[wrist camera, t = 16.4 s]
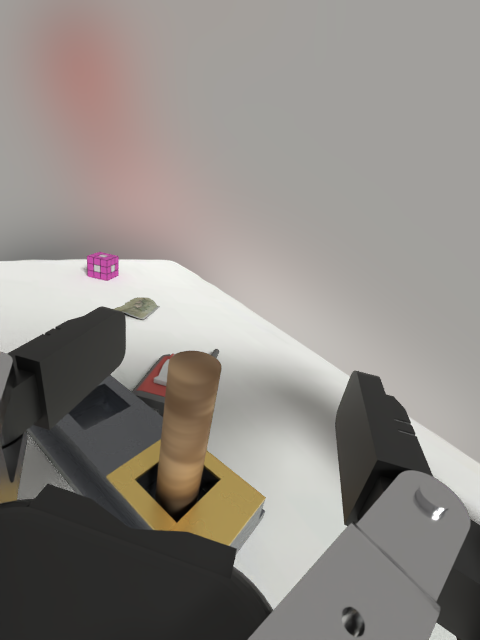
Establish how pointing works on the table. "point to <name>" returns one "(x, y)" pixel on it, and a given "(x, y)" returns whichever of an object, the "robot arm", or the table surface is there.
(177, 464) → the walnut peg
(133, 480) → the socket rail
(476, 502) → the table surface
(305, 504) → the table surface
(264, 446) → the table surface
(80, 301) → the table surface
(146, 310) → the topographic map
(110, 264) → the puzzle toy
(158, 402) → the walkie-talkie
